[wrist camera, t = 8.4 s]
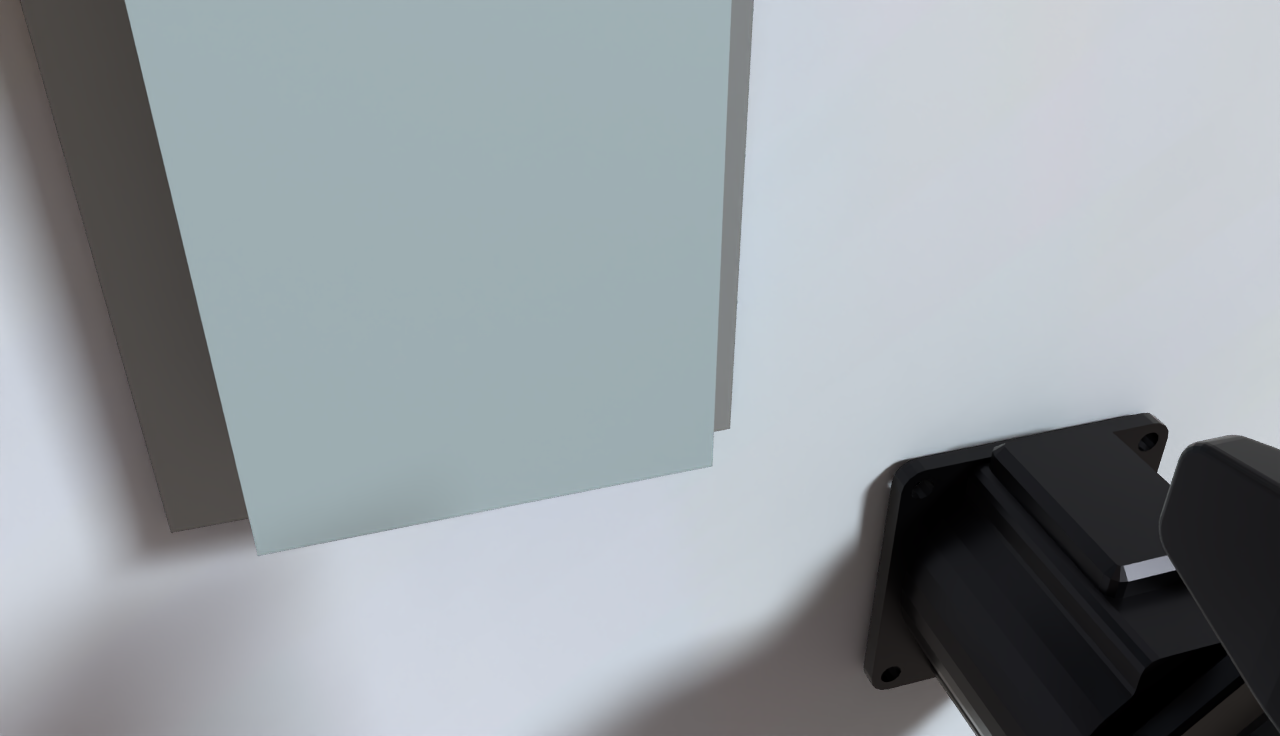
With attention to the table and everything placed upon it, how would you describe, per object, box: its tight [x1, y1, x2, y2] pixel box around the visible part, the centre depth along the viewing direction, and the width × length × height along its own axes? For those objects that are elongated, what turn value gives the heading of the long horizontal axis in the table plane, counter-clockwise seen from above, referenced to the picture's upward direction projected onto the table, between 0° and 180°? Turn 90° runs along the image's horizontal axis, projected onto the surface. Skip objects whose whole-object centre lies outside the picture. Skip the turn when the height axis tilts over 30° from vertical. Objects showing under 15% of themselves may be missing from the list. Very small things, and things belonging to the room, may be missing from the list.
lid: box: [125, 0, 732, 556], centre depth 16 cm, size 11×7×3 cm, turn 0°
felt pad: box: [20, 0, 754, 533], centre depth 17 cm, size 14×10×1 cm
